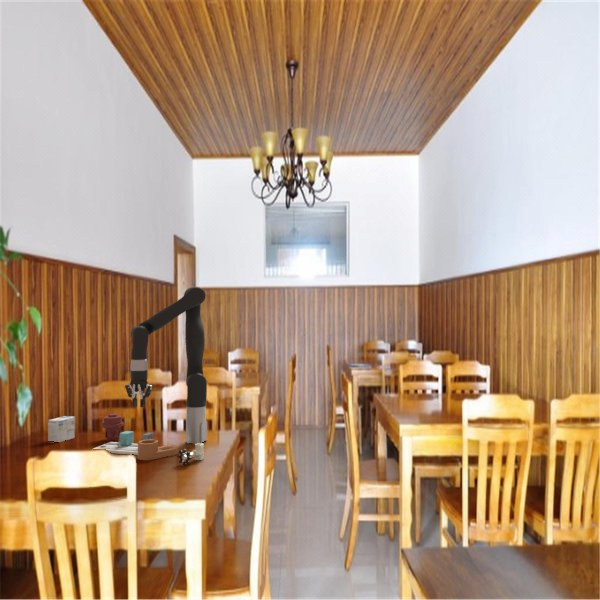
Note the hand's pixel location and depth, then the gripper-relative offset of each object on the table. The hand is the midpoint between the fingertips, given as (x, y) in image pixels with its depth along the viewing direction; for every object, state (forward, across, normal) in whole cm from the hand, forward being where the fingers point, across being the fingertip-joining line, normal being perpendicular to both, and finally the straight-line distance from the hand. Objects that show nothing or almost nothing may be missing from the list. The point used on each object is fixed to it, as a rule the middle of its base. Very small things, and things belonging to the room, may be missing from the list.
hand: (138, 406), depth 225 cm
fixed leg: (+18, -5, +2) cm, 19 cm away
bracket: (+20, -15, +8) cm, 26 cm away
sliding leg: (+17, +6, +2) cm, 19 cm away
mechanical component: (+19, +22, -12) cm, 32 cm away
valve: (+20, -34, +13) cm, 41 cm away
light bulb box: (+19, +46, -5) cm, 50 cm away
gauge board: (+19, +4, +3) cm, 20 cm away
